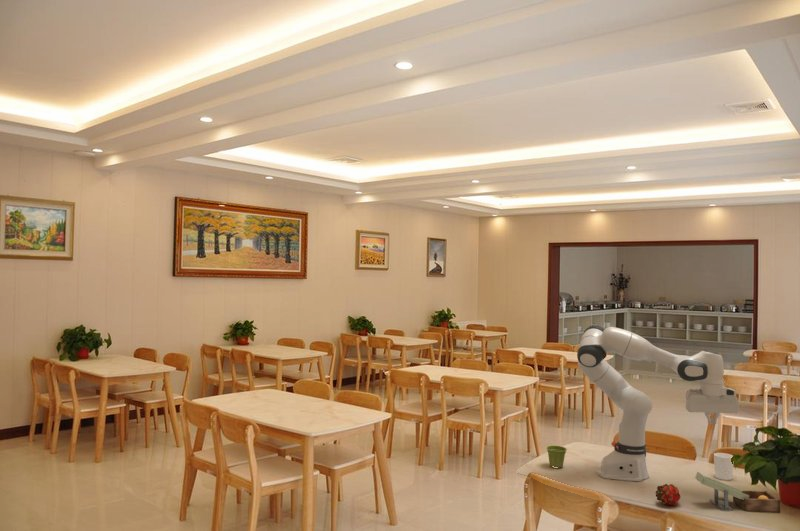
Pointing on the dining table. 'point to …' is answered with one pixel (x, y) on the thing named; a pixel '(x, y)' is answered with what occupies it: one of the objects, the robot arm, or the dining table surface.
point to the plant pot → (556, 455)
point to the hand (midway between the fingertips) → (712, 423)
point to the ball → (762, 497)
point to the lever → (720, 486)
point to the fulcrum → (720, 503)
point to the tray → (758, 502)
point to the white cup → (723, 466)
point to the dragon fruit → (668, 494)
